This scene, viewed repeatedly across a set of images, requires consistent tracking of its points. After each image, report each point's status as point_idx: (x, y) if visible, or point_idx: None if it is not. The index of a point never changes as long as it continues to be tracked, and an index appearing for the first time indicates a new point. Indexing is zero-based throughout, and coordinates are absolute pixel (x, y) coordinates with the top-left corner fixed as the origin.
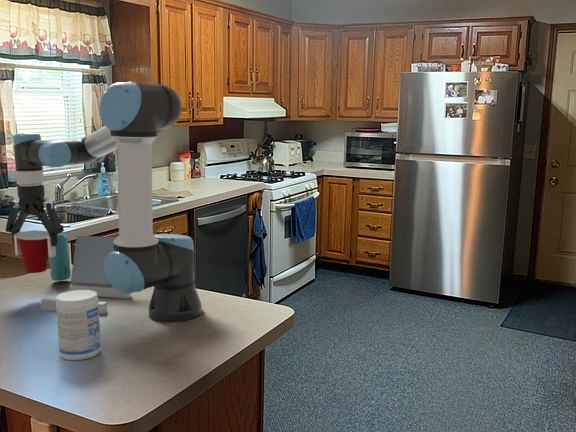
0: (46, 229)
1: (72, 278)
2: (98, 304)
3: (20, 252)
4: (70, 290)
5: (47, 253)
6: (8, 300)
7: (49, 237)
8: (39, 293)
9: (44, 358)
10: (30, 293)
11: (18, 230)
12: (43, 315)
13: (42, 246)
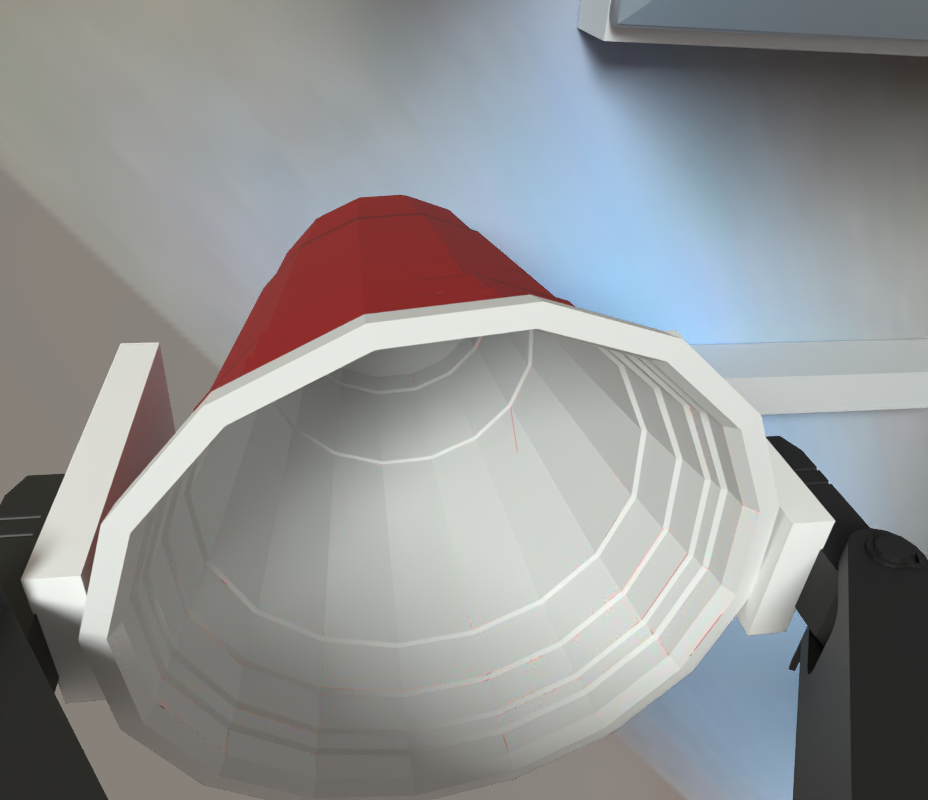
0: (803, 739)
1: (646, 14)
2: (924, 406)
3: (165, 413)
4: (592, 34)
5: (578, 372)
6: (154, 271)
7: (776, 618)
8: (271, 38)
9: (772, 734)
10: (185, 53)
11: (17, 663)
12: None
13: (604, 535)
